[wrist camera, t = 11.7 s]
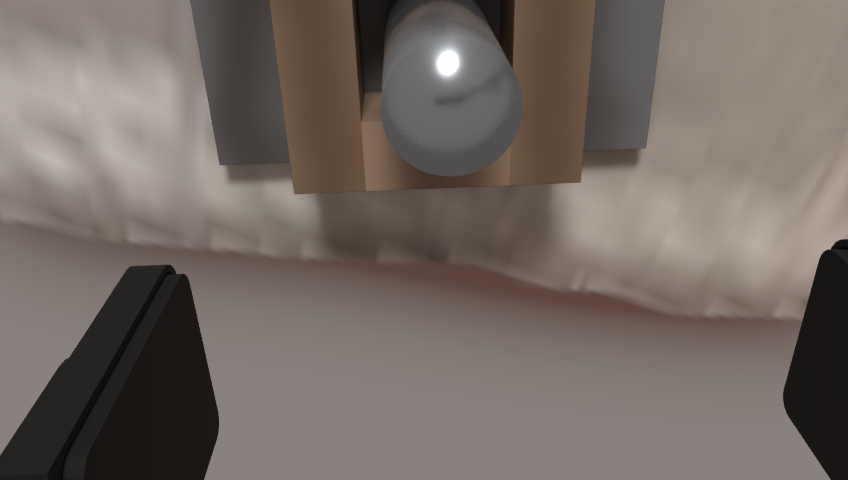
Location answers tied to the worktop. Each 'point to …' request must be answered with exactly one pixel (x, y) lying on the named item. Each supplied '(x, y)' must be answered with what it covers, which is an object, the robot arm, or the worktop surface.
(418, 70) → the grey metallic cylinder
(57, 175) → the worktop surface
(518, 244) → the worktop surface
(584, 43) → the docking mount
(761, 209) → the worktop surface
